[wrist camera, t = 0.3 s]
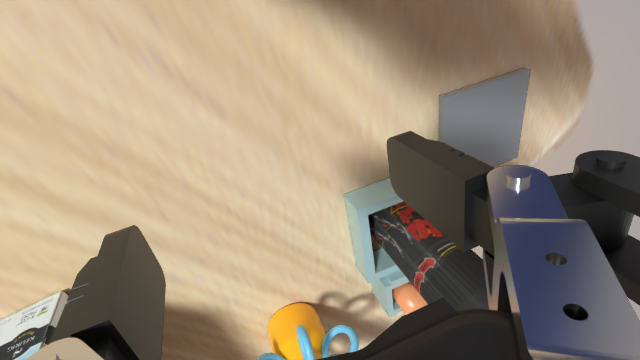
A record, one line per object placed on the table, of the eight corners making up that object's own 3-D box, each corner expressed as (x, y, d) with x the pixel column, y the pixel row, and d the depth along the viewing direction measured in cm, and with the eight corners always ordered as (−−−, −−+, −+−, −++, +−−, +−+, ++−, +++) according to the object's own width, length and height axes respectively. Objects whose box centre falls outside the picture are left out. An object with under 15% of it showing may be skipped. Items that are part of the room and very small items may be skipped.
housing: (343, 194, 34) (362, 216, 31) (430, 162, 36) (456, 179, 33) (361, 296, 42) (377, 322, 39) (431, 265, 44) (451, 287, 41)
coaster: (439, 95, 33) (444, 97, 32) (523, 68, 35) (530, 69, 34) (438, 182, 38) (443, 186, 37) (511, 154, 40) (517, 157, 39)
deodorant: (358, 235, 37) (449, 356, 25) (381, 187, 35) (491, 293, 23) (400, 240, 40) (500, 351, 28) (423, 196, 38) (542, 295, 26)
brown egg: (385, 277, 39) (407, 307, 35) (408, 267, 40) (432, 296, 36) (387, 294, 41) (408, 325, 37) (409, 284, 41) (432, 314, 38)
